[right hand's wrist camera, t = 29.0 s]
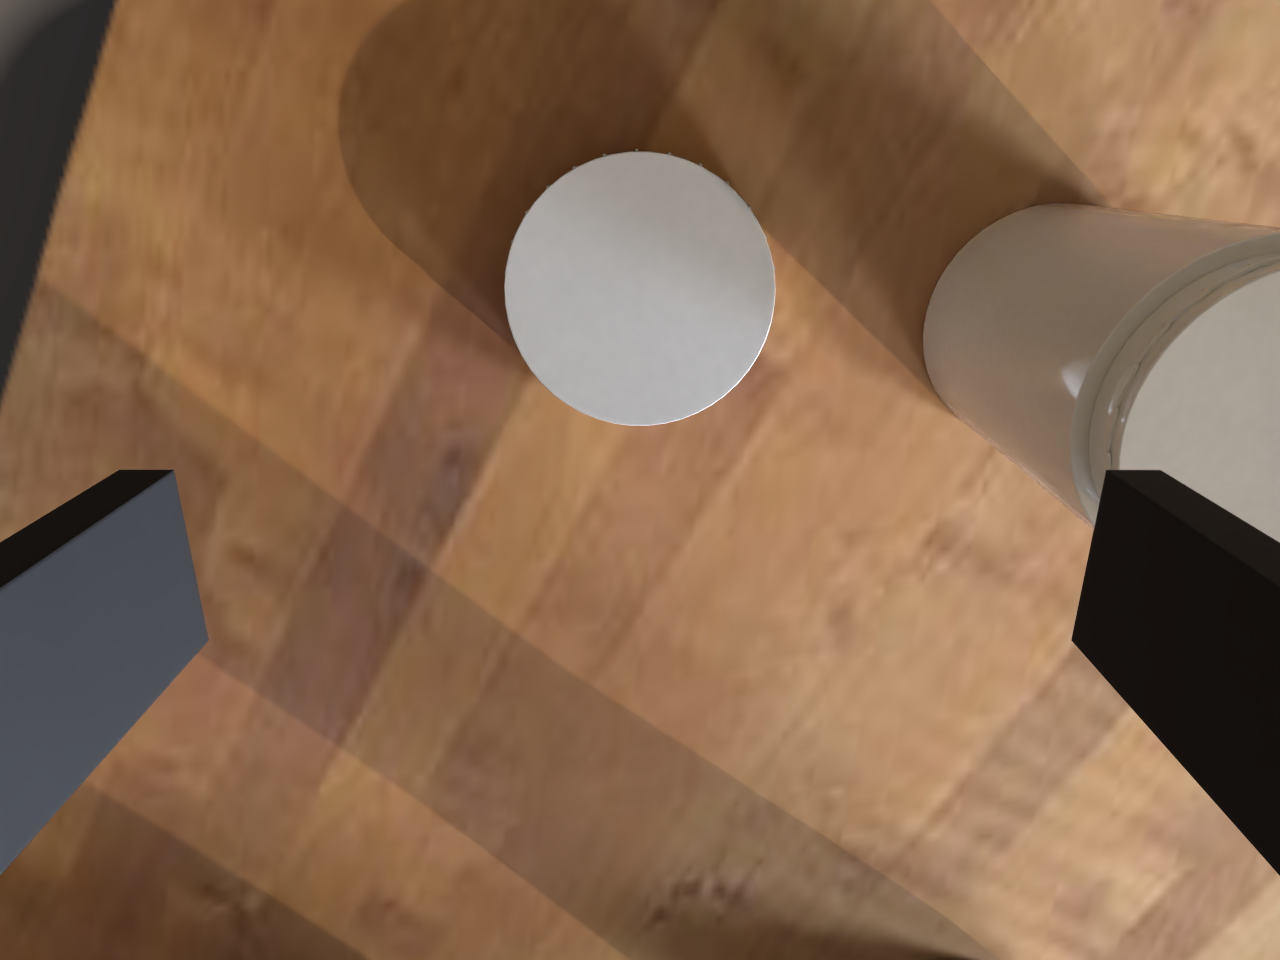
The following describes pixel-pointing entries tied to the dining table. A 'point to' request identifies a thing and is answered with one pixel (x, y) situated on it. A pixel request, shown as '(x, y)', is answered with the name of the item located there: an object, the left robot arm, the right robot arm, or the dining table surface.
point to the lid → (639, 288)
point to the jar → (1118, 351)
